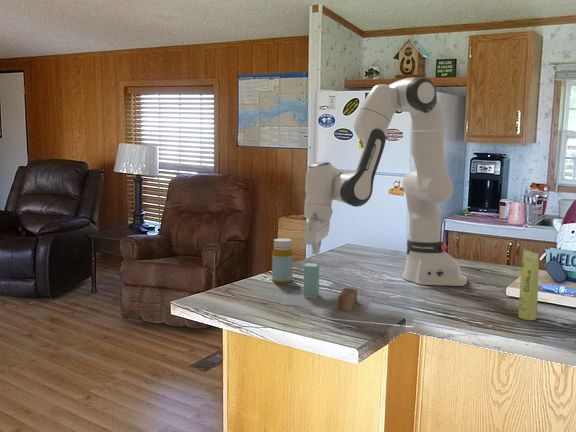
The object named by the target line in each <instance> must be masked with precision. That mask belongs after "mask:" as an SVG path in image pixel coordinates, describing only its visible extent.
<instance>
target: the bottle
mask: <svg viewBox="0 0 576 432" xmlns="http://www.w3.org/2000/svg"><path fill="white" fill-rule="evenodd" d="M292 243H293V240H292V238H287V237H283V238H282V237H278V238H275V239H273V250H272V258H271V259H272V263H271V264H272V265H271V266H272V269H271V270H272V272H271V274H272V275H271V276H272V278H271V279H272V282H273V283H276V284H288V283H289V284H290V283H291V282H292V281H293V266H294V265H293V260H294V254H293V249H292Z"/></svg>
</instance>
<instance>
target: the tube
mask: <svg viewBox="0 0 576 432" xmlns="http://www.w3.org/2000/svg"><path fill="white" fill-rule="evenodd" d="M539 257H540V253H536V252H533V251H531V250H527V249H525V248H523V252H522V263H521V273H520V283H519V284H520V286H519V295H518V296H519V299H518V313H517V315H518V318H519V319H521V320H525V321H534V320H536V319H538V318H537V317H538V297H539V271H540V270H539V266H540V260H539Z"/></svg>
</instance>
